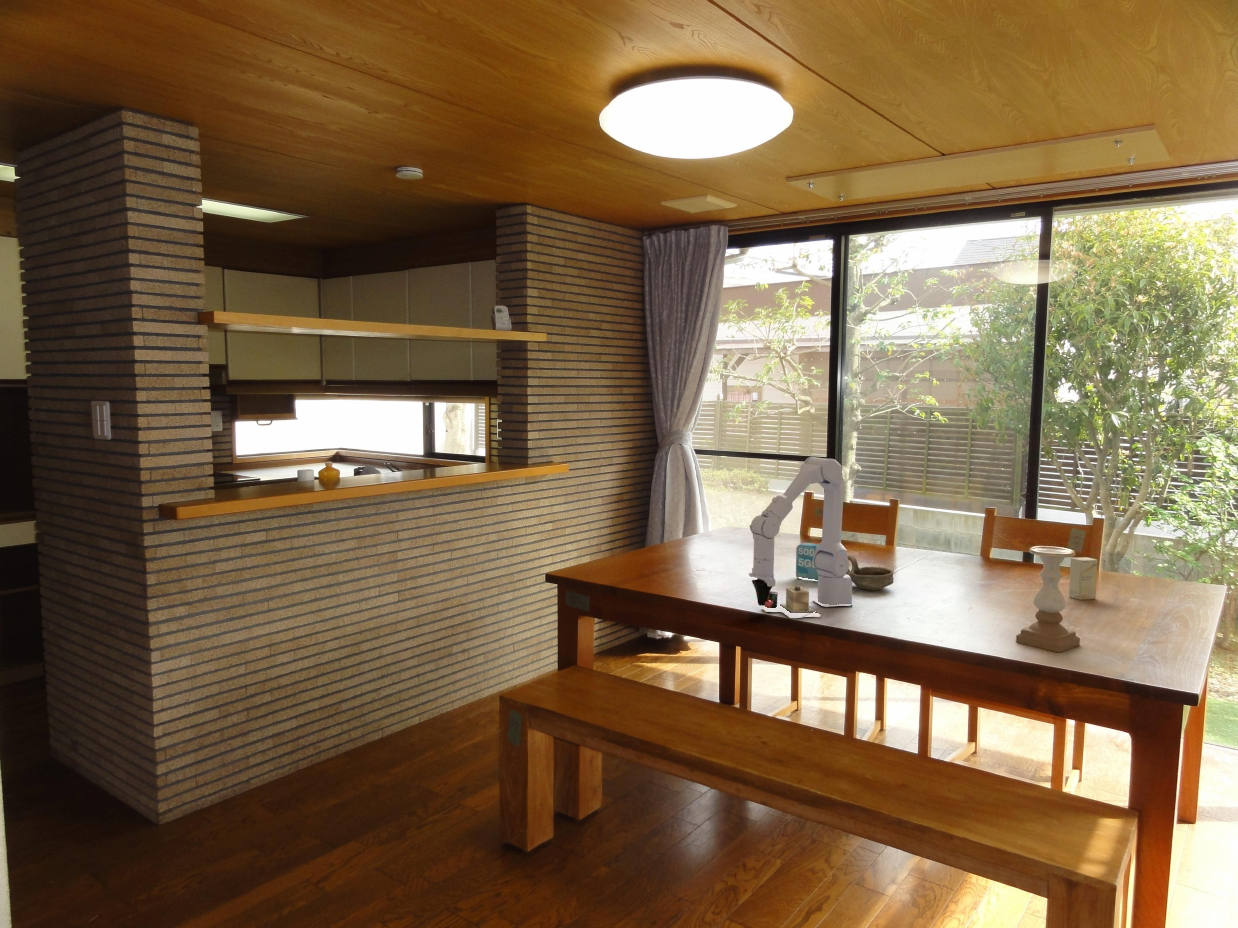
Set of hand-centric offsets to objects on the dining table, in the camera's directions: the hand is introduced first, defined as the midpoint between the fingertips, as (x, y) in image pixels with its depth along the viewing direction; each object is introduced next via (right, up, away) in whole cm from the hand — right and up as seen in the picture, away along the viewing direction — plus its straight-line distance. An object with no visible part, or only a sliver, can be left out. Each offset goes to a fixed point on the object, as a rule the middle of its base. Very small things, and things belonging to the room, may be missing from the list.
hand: (762, 605), depth 235 cm
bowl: (+39, 0, +31) cm, 49 cm away
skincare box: (+101, -1, +18) cm, 102 cm away
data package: (+25, +1, +42) cm, 48 cm away
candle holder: (+67, -5, -27) cm, 72 cm away
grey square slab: (+8, -2, +1) cm, 9 cm away
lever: (+2, -1, +1) cm, 3 cm away
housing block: (+10, -1, +2) cm, 10 cm away
